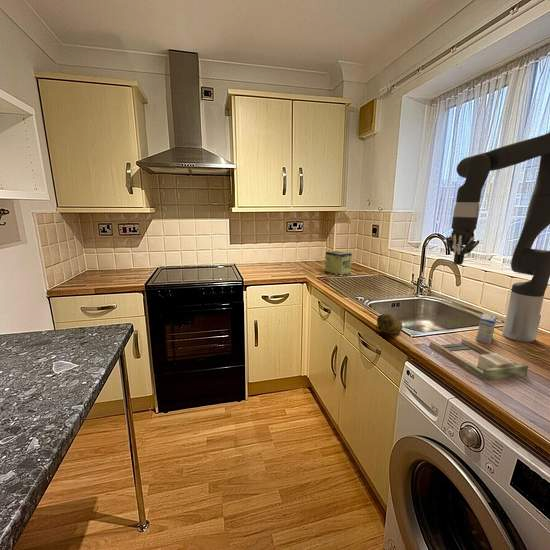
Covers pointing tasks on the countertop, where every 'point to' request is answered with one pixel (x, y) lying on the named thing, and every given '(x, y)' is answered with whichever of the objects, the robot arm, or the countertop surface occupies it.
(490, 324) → the medicine box
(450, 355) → the shallow green tray
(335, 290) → the countertop surface
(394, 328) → the potato
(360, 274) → the countertop surface
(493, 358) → the cream block
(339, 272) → the protein box
